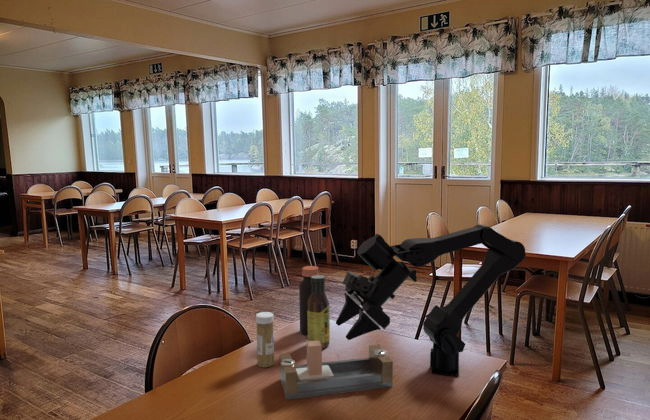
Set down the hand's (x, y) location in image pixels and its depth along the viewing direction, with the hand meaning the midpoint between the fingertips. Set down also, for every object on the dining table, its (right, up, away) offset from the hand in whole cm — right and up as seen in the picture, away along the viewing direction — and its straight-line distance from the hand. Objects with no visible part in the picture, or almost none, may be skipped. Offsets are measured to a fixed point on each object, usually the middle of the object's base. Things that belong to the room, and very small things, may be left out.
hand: (341, 331), depth 113 cm
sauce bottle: (-6, -10, +23) cm, 26 cm away
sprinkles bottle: (-19, -12, +12) cm, 25 cm away
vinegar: (-8, -9, +33) cm, 35 cm away
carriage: (-6, -11, 0) cm, 13 cm away
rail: (-1, -13, +1) cm, 13 cm away
